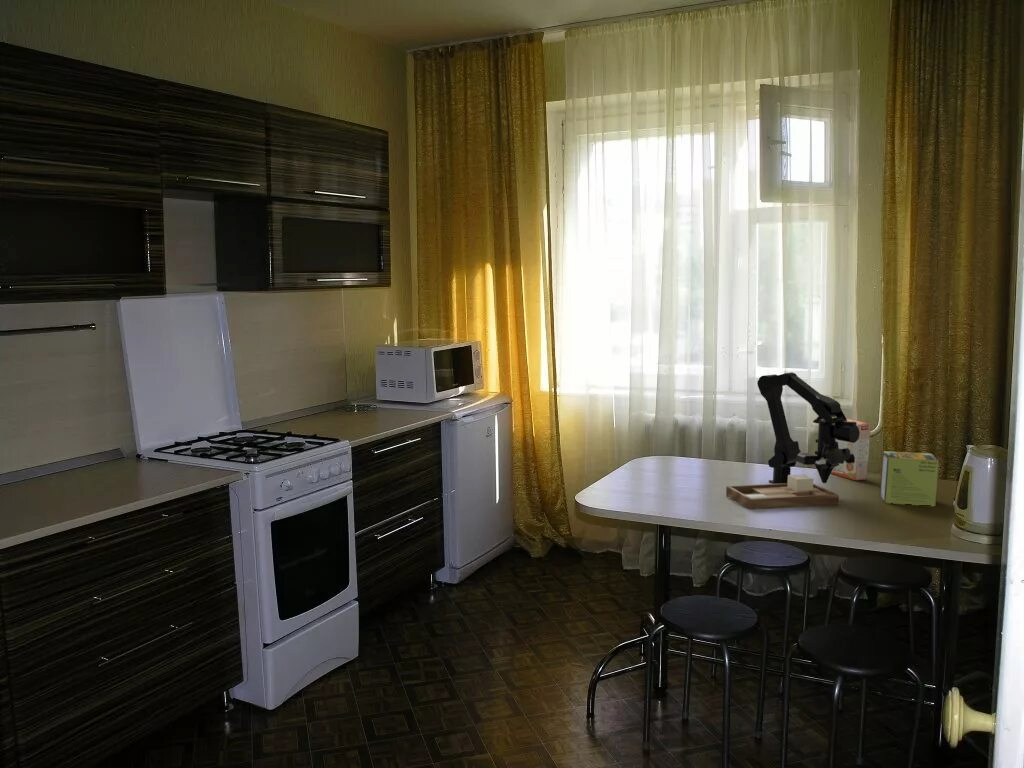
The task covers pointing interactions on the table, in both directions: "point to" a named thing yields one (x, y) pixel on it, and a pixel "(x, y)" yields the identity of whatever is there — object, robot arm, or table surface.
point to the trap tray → (780, 496)
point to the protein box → (909, 478)
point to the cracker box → (856, 454)
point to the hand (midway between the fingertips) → (824, 482)
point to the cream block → (800, 482)
